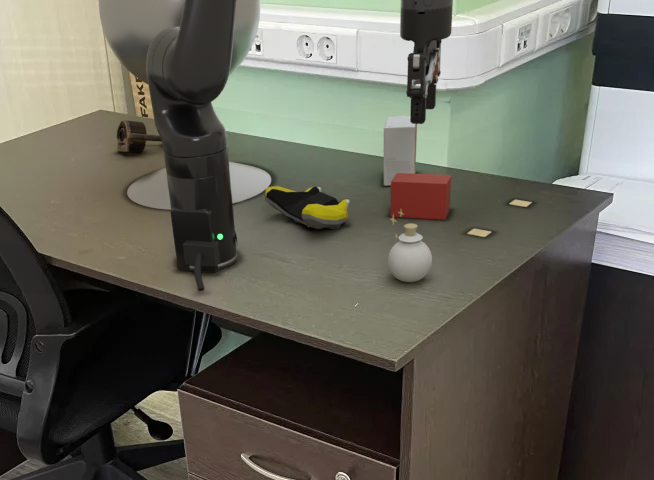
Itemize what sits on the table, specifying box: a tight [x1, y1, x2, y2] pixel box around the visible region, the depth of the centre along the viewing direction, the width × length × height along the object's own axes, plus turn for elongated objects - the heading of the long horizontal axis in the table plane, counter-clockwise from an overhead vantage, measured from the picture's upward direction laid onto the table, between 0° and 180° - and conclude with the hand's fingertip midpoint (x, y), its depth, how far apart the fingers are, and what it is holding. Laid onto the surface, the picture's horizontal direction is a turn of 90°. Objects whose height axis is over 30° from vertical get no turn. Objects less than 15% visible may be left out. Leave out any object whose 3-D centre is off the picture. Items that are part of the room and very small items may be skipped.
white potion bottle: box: [387, 211, 433, 283], centre depth 119 cm, size 6×7×10 cm
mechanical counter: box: [116, 119, 162, 153], centre depth 186 cm, size 7×13×10 cm
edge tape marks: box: [466, 199, 533, 238], centre depth 139 cm, size 17×3×1 cm, turn 141°
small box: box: [383, 115, 418, 187], centre depth 156 cm, size 8×6×10 cm
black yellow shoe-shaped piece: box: [264, 185, 350, 230], centre depth 142 cm, size 15×6×10 cm
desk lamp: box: [98, 0, 272, 211], centre depth 153 cm, size 28×28×45 cm
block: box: [390, 173, 452, 221], centre depth 142 cm, size 4×9×6 cm, turn 70°
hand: (423, 115), depth 135 cm, fingers open, 8 cm apart
